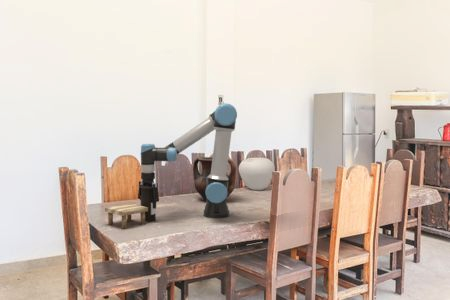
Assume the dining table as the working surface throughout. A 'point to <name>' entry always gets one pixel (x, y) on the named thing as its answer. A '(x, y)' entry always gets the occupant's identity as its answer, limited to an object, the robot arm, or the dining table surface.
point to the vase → (256, 172)
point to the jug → (206, 171)
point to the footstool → (126, 213)
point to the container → (147, 202)
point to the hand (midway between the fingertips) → (148, 212)
